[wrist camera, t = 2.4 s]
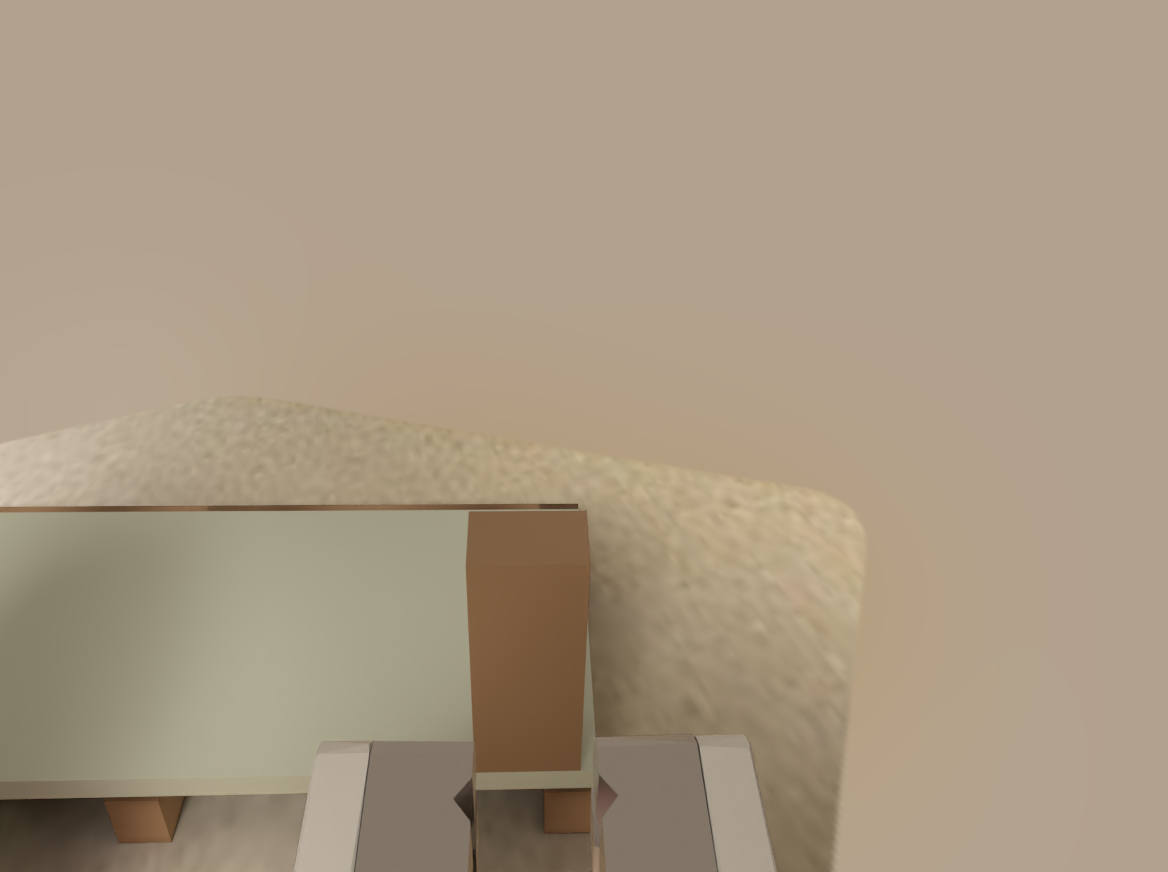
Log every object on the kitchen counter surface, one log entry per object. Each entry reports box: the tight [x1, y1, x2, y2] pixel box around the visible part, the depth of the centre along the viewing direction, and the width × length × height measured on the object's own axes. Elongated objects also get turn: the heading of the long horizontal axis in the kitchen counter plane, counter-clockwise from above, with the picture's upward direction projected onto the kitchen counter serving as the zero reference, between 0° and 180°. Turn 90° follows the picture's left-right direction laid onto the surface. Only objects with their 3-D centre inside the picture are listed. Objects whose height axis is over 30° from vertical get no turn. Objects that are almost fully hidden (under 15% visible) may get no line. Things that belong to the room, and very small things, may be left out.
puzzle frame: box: [0, 504, 591, 843], centre depth 37 cm, size 24×13×2 cm, turn 93°
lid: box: [0, 509, 596, 799], centre depth 33 cm, size 24×12×9 cm, turn 93°
